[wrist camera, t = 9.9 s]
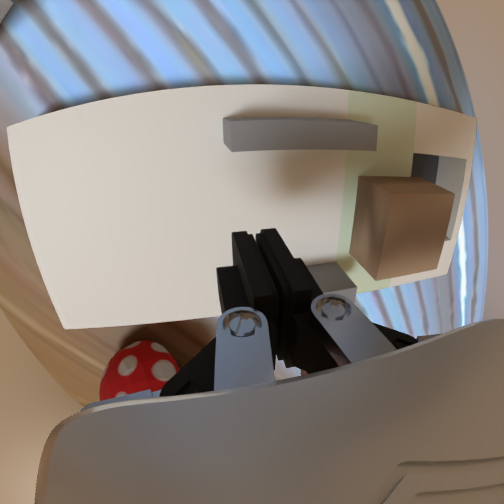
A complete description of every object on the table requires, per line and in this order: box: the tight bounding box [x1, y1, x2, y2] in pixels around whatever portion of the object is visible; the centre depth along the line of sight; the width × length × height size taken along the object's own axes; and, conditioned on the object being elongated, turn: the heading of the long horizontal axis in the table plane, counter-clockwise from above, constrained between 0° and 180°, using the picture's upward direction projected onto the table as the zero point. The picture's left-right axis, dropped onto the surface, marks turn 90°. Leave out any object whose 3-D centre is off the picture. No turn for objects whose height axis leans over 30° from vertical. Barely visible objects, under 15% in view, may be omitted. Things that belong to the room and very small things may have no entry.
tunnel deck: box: [7, 84, 477, 329], centre depth 20 cm, size 16×36×8 cm, turn 91°
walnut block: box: [349, 176, 455, 281], centre depth 20 cm, size 6×6×4 cm
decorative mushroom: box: [100, 340, 179, 401], centre depth 26 cm, size 11×11×15 cm
